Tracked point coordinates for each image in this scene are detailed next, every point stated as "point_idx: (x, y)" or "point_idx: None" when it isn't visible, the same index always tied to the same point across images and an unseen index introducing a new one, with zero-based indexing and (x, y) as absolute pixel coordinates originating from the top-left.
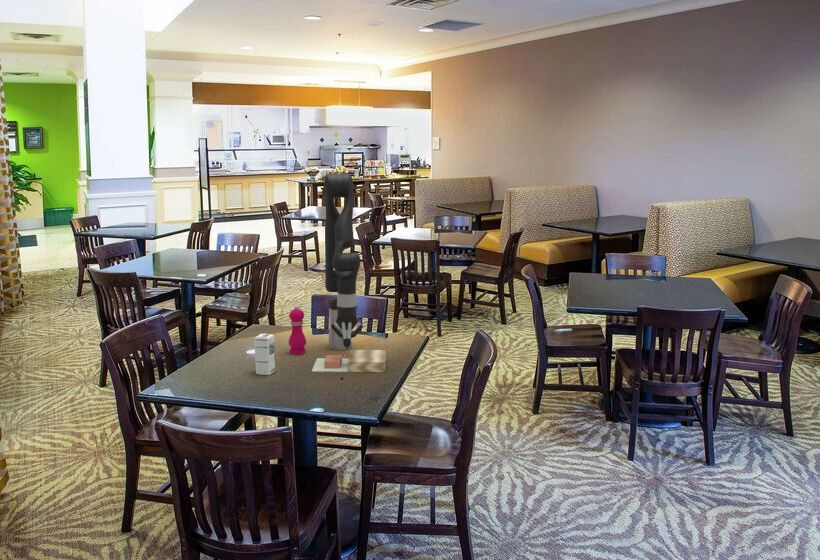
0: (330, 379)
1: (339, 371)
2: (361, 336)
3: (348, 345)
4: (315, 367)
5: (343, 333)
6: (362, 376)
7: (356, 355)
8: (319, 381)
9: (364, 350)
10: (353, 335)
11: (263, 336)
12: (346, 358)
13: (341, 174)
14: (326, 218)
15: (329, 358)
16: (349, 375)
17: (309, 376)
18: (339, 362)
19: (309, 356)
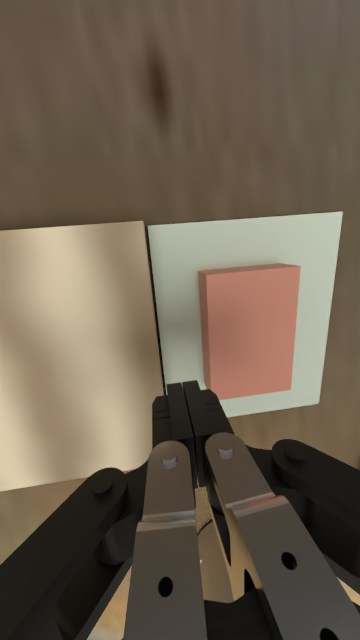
0: (227, 62)
1: (194, 223)
2: None
3: (170, 393)
4: (324, 272)
5: (265, 498)
6: (34, 144)
7: (116, 373)
8: (292, 10)
9: (92, 466)
10: (103, 493)
11: None
12: None
13: None
14: None
15: (274, 337)
16: (123, 161)
17: (350, 125)
18: (208, 274)
19: (345, 427)
